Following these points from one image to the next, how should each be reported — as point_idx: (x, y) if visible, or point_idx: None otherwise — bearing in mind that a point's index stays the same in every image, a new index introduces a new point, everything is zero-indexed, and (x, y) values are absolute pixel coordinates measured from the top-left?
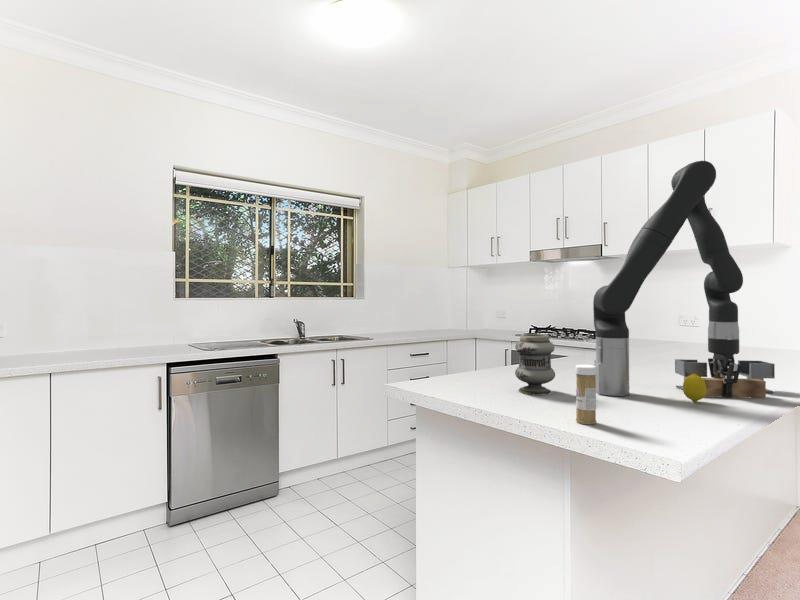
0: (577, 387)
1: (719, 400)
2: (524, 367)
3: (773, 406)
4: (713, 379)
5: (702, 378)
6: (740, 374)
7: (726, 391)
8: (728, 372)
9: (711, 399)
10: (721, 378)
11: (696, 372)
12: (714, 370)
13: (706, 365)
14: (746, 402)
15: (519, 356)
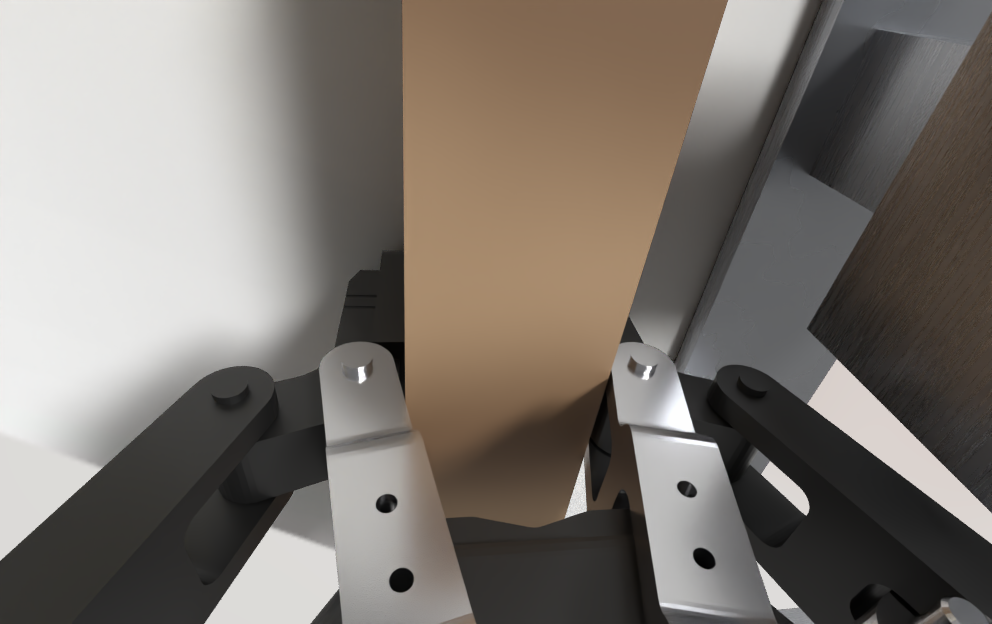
0: None
1: (170, 95)
2: None
3: (67, 448)
4: (458, 279)
5: (584, 117)
6: (794, 612)
7: (351, 298)
8: (60, 563)
9: (207, 7)
10: (563, 423)
11: (981, 210)
12: (655, 469)
13: (990, 496)
14: (170, 335)
15: None
